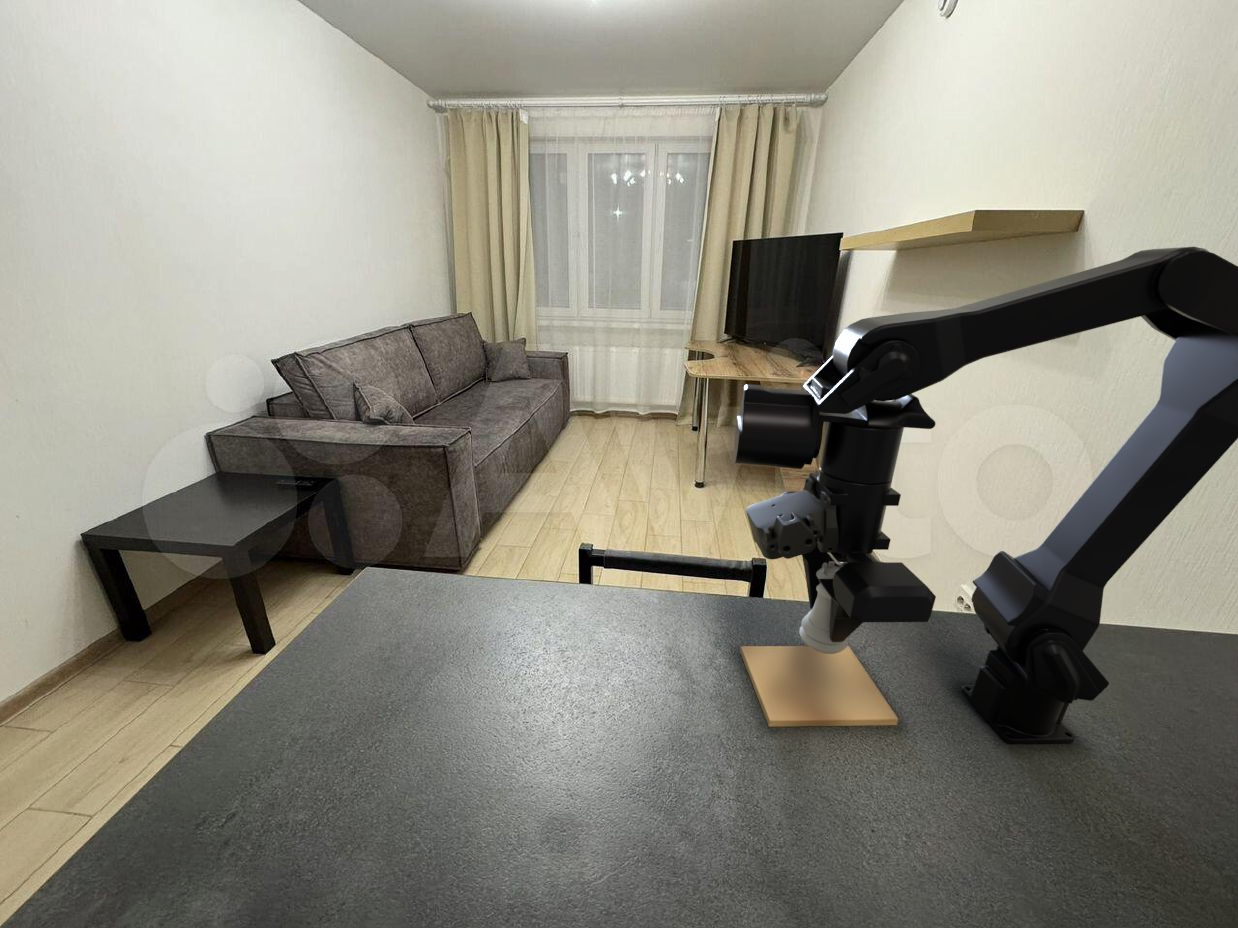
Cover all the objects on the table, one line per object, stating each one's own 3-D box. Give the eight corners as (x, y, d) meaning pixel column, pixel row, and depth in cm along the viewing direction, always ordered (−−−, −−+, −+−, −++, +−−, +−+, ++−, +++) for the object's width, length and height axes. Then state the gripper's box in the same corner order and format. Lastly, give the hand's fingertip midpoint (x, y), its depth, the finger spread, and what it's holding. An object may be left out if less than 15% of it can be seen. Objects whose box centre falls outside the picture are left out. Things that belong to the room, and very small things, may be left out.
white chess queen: (842, 629, 52) (857, 559, 49) (852, 659, 48) (868, 585, 45) (795, 622, 53) (808, 553, 50) (801, 652, 49) (814, 578, 46)
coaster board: (847, 651, 57) (848, 645, 57) (897, 725, 48) (898, 718, 48) (739, 651, 57) (740, 645, 56) (768, 727, 47) (769, 720, 47)
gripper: (734, 438, 53) (719, 572, 58) (803, 520, 35) (774, 701, 41) (841, 439, 53) (817, 572, 59) (963, 521, 36) (912, 699, 41)
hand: (825, 624), depth 50 cm, fingers closed on white chess queen, 4 cm apart
